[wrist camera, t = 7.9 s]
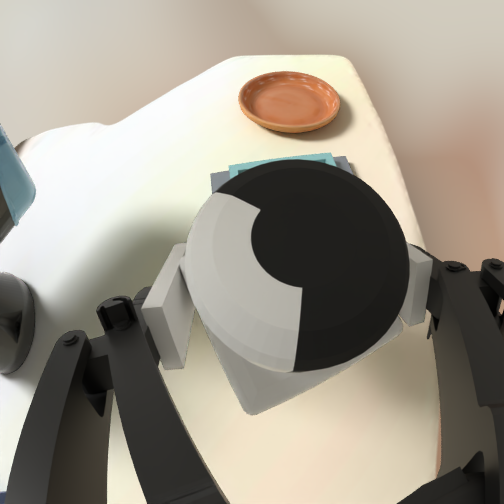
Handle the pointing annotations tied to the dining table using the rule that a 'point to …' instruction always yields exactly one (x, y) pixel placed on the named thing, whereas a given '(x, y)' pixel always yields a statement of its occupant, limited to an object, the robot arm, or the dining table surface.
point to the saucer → (289, 101)
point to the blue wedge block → (2, 497)
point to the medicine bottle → (295, 277)
